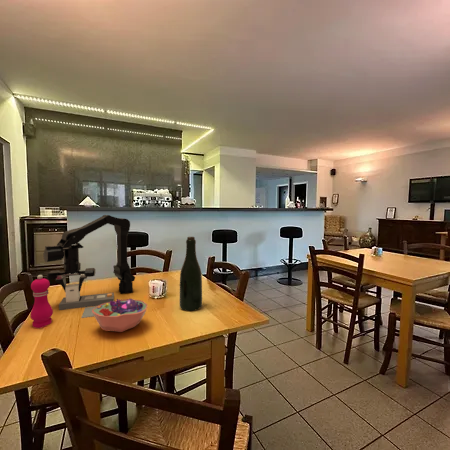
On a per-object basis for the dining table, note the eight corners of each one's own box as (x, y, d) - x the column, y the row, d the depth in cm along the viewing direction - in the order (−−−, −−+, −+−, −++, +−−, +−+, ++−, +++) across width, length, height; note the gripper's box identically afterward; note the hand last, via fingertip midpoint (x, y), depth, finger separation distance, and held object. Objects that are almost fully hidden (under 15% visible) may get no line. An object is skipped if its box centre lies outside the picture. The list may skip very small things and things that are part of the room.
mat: (111, 305, 122) (111, 304, 122) (110, 315, 112) (110, 313, 112) (85, 308, 118) (85, 307, 118) (81, 319, 108) (81, 317, 108)
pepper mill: (57, 322, 105) (55, 273, 103) (39, 330, 98) (37, 278, 96) (44, 319, 107) (42, 271, 105) (26, 327, 100) (23, 276, 99)
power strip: (114, 299, 131) (113, 290, 131) (113, 305, 123) (112, 297, 123) (63, 304, 124) (63, 295, 123) (59, 312, 115) (58, 302, 115)
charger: (80, 297, 124) (79, 283, 123) (78, 301, 119) (77, 286, 119) (68, 299, 122) (67, 284, 122) (65, 303, 117) (65, 287, 117)
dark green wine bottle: (174, 307, 121) (174, 236, 118) (192, 301, 129) (192, 234, 126) (189, 313, 114) (189, 239, 111) (206, 307, 122) (207, 236, 119)
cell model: (103, 318, 108) (102, 292, 107) (152, 317, 110) (151, 291, 109) (84, 340, 92) (83, 308, 91) (142, 338, 93) (141, 308, 92)
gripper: (96, 254, 130) (97, 284, 131) (52, 256, 123) (53, 288, 125) (93, 258, 120) (94, 291, 121) (45, 261, 113) (47, 296, 114)
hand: (73, 291), depth 121 cm, fingers closed on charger, 5 cm apart
